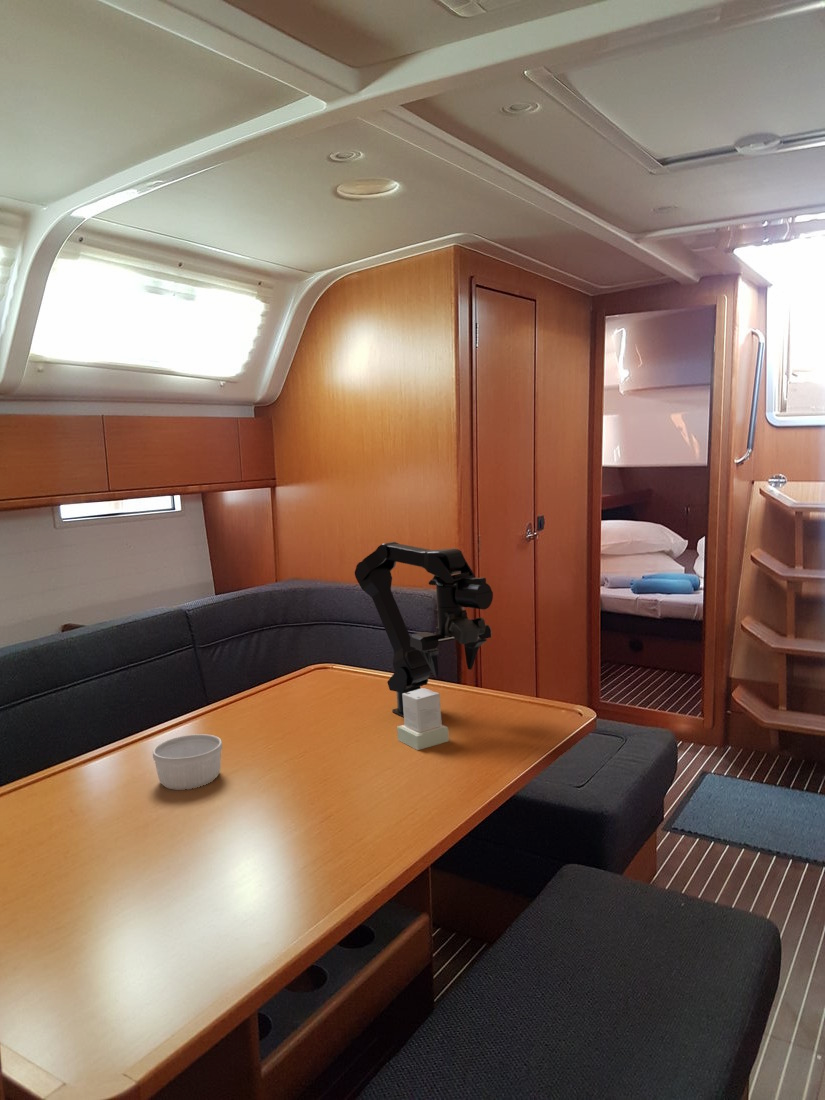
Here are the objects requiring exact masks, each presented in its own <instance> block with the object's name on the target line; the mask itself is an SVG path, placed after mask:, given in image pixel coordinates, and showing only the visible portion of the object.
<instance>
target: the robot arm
mask: <svg viewBox="0 0 825 1100" xmlns="http://www.w3.org/2000/svg"><path fill="white" fill-rule="evenodd" d="M397 563H401V564H406V565H410V566H416V567H419V568H422V569H424V570H426V572H427V573H429V574H431V575H433V578H431V579H430V580H429V581H428V585H430V586H435V589H436V605H437V606H436V609H434V611H433V613H434V615H437V626H436V627H435V628H434V629H435V634H434V633H430V632H427V631H423V632H417V633H412V635H410V633H409V630H408V628H407V626H406V623H405V621H404V618H403V616H402V614H401V611H400V609H399V607H398V605H397V604H398V603H397V601H396V599H395V597H394V594H393V592H392V581H393V576H392V573H391V572H392V570H393V569H394V568H395V567H396V564H397ZM354 577H355V579H356V582H357V583H358V584H359V586H360V589H361V590H362V591H364V592H365V594H367V595H368V596H370V598H371V599H372V602H373V603H374V606H375V608H376V612H377V613H378V615H379V618H380V621H381V624H382V625H383V627H384V630H385V633H386V635H387V637H388V640H389V642H390V645H391V647H392V649H393V659H392V660H393V661H392V667H393V670H394V673H393V674H392V675H391V676H390V677H389V679H388V681H387V686H388V690H389V691H392V692H396V702H397V705H396V706H397V708H393V709H392V711H391V712H392V713H394V714H395V715H396V714H397V715H398V716H401V717H403V718H404V711H403V698H402V694H403V693H406V692H410V691H414V690H417V689H421V688H422V687H423V686H427V685H428V683H429V679H430V678H429V677H430V676H431V673H432V675H433V677H435V678H438V677H439V662H438V661H439V660H438V654H439V652H440V650H441V649H440V648H438V646H439V643H443V642H448V641H455V640H456V641H457V642H458V643H459V644H461V645H463V647H464V654H465V660H466V667H467V669H468V670H471V671H472V670H473V667H474V663H475V660H476V657H477V654H478V651H479V648H480V647H481V646H482V645H483V644H484V643H486V642H488V639H490V638H492V637H493V636H492V634H493V633H492V629H491V627H490V625H488V624H486V621H485V619H484V618H483V617H476V618H474V619H473V618H472V619H469V618H468V613H467V610H466V609H465V608H468V609H477V610H487V609H488V608H489V607H490V606H491V604H492V602H493V600H494V594H493V593H494V592H493V591H492V588H491V586H490V585H489V584H488V583H487V578H486V577H476V575H475V573H474V571H473V570H472V568H471V566H470V565H469V563H468V562H467V560H466V557H464V554H463V552H462V550H460V549H458V548H443V549H428V548H422V547H418V546H413V545H407V544H402V543H399V542H396V541H393V542H391V541H389V542H385V543H381V544H380V545H378V546H377V548H376V549H375V550H374V551H372V552H371V553H369V555H367V556H366V557H365V558H364V559H362V560H361V561H359V562H357V564H356V567H355V571H354Z"/></svg>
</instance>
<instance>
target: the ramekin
mask: <svg viewBox="0 0 825 1100" xmlns="http://www.w3.org/2000/svg"><path fill="white" fill-rule="evenodd" d="M222 742H223V741H222V740H221V738H220V737H218V736H216V735H212V734H205V733H204V734H201V733H199V734H198V733H197V734H188V735H187V734H186V735H182V736H177V737H172V738H170V739H167V740H164V741H162V742H161V743H158V744H157V745H156V746H155V747H154V748H153V750H152V758H153V761H154V764H155V769H156V772H157V776H158V777H157V778H158V781H159V783H160V784H161V785H162V786H164V788H167V789H169V790H173V791H174V790H175V791H183V790H184V791H186V790H185V789H187V790H192V788H193V789H197V787H198V788H200V786H201V787H204V786H207V785H209V784H210V782H211V783H213V782H214V781H213V780H214V779H215V778H216V779H217V777H218V776H219V774H220V772H221V767H222V766H221V765H222V763H221V761H222V750H223V743H222ZM216 779H215V780H216ZM208 783H209V784H208ZM206 784H207V785H206ZM203 785H204V786H203Z"/></svg>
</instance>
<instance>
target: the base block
mask: <svg viewBox="0 0 825 1100" xmlns="http://www.w3.org/2000/svg"><path fill="white" fill-rule="evenodd" d="M396 730H397V740H398V741H399V742H401V743H403V744H405V745H407V746H408V747H411V748H413V749H414V750H416V751H420V750H424V749H427V748H430V747H431V748H432V747H433V746H437V745H441V744H444V743H448V742H450V737H449V735H450V734H449V727H448V726H446V725H444V724H442V725H441V726H440V727H437V728H433V729H430V730H426V731H423V732H418V731H415V730H413V729H411V728H409V727H406V726H404V724H402V725H398V726H396Z"/></svg>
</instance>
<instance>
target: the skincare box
mask: <svg viewBox="0 0 825 1100" xmlns="http://www.w3.org/2000/svg"><path fill="white" fill-rule="evenodd" d="M420 688H421V689H417V690H414V691H410V692H406V693H403V694H402V698H403V711H404V717H403V720H404V721H403V723H404V724H403V725H404V726H406V727H409V728H411V729H413V730H415V731H418V732H423V731H426V730H430V729H433V728H437V727H440V726H441V725H443V724H442V711H441V697H440V693H439V692H437V691H434V690H432V689H428V688H425V687H424V688H423V687H420Z"/></svg>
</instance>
